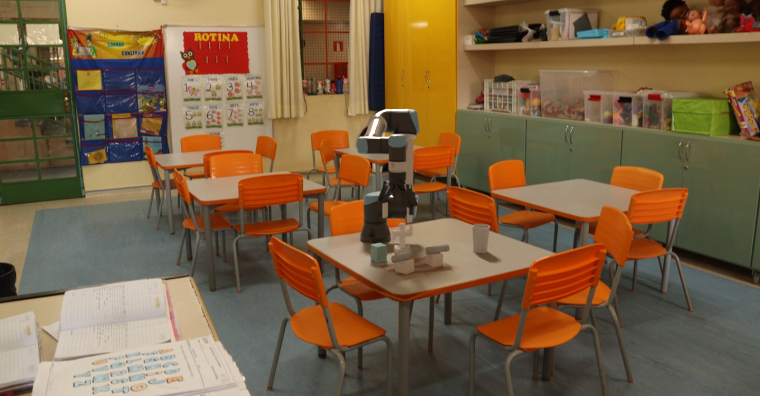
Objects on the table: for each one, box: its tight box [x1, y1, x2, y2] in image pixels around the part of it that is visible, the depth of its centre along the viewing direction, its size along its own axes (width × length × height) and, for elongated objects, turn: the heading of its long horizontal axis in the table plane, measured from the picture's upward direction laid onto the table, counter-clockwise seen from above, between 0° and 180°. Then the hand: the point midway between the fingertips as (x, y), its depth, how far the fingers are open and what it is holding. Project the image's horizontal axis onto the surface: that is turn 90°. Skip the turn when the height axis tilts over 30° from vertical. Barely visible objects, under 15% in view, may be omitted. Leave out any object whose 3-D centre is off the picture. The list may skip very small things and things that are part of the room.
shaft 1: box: [390, 250, 414, 274], centre depth 254 cm, size 10×6×8 cm, turn 135°
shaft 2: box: [425, 244, 450, 267], centre depth 264 cm, size 10×6×8 cm, turn 115°
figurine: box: [391, 222, 414, 255], centre depth 280 cm, size 7×9×15 cm
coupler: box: [369, 242, 388, 263], centre depth 270 cm, size 5×5×8 cm
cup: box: [471, 223, 491, 254], centre depth 286 cm, size 8×8×12 cm
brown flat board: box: [375, 254, 457, 280], centre depth 262 cm, size 22×26×1 cm
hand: (397, 219), depth 268 cm, fingers open, 13 cm apart
